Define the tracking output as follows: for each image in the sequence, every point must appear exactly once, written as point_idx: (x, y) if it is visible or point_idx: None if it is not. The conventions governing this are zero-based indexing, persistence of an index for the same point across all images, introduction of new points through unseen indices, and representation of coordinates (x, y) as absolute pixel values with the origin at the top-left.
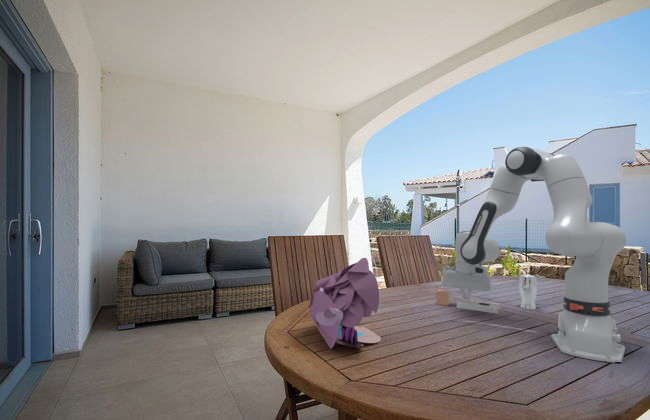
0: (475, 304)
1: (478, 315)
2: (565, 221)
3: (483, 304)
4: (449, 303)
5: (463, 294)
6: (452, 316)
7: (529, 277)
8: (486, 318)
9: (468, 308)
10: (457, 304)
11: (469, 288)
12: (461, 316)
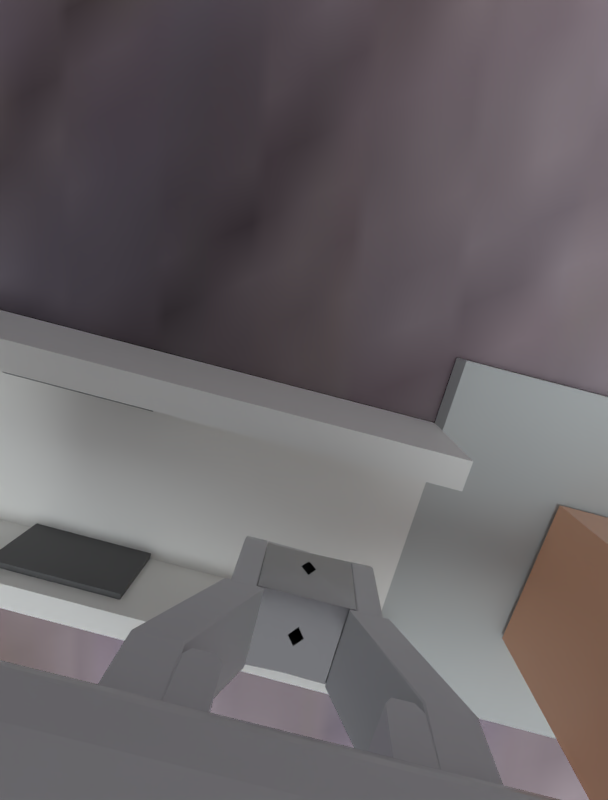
0: (164, 387)
1: (175, 242)
2: None
3: (72, 568)
4: (529, 598)
5: (361, 624)
6: (537, 20)
7: None
8: (78, 112)
9: (286, 392)
10: (447, 443)
11: (147, 722)
12: (402, 81)
